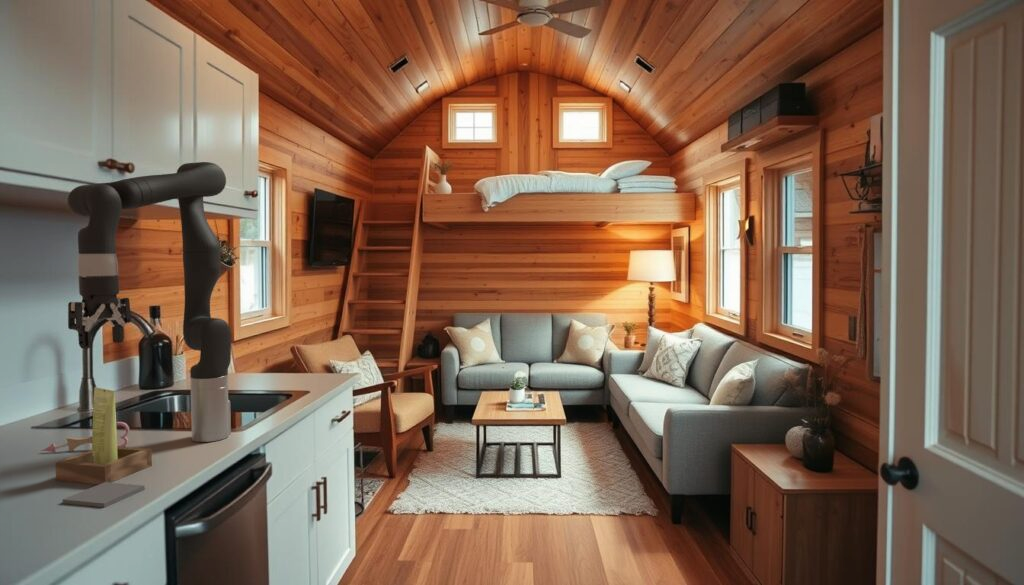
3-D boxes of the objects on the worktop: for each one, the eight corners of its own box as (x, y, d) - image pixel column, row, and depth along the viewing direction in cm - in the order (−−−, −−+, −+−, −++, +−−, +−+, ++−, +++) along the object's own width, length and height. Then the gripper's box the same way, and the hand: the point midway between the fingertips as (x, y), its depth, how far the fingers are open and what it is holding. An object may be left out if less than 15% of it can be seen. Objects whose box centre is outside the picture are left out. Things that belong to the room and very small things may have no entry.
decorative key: (45, 463, 157) (132, 444, 163) (43, 465, 156) (131, 445, 161) (39, 438, 156) (127, 419, 162) (37, 439, 155) (126, 420, 161)
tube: (124, 468, 144) (122, 385, 144) (116, 475, 140) (113, 390, 139) (97, 470, 143) (94, 386, 142) (87, 477, 138) (85, 391, 137)
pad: (105, 485, 133) (105, 482, 133) (144, 489, 131) (144, 485, 131) (62, 503, 123) (62, 499, 123) (104, 507, 121) (104, 503, 121)
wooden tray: (106, 461, 149) (105, 445, 149) (151, 465, 146) (151, 449, 146) (55, 480, 136) (55, 462, 136) (105, 484, 133) (104, 466, 133)
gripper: (111, 273, 146) (114, 340, 147) (55, 275, 132) (59, 349, 133) (138, 273, 145) (141, 341, 146) (84, 275, 131) (88, 350, 132)
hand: (102, 345), depth 139 cm, fingers open, 8 cm apart
